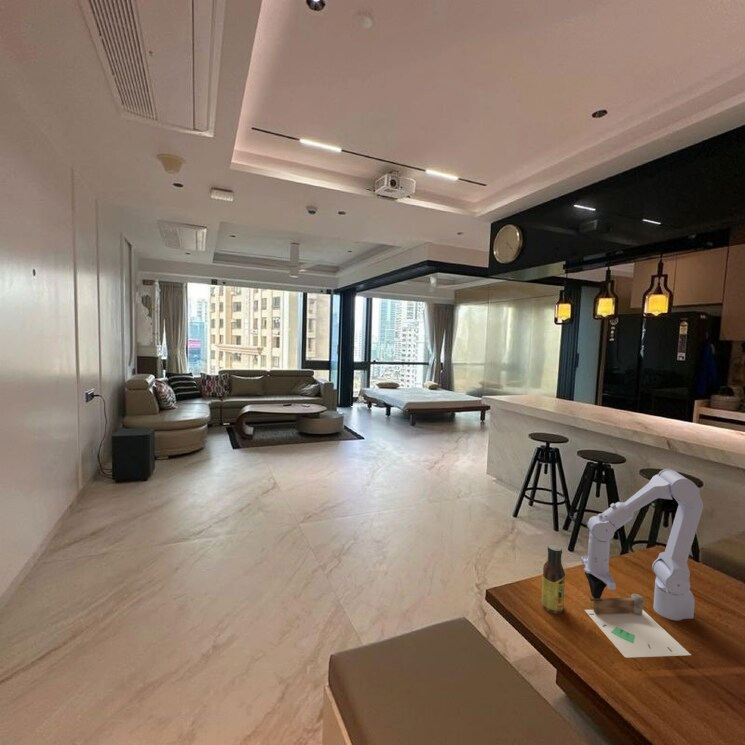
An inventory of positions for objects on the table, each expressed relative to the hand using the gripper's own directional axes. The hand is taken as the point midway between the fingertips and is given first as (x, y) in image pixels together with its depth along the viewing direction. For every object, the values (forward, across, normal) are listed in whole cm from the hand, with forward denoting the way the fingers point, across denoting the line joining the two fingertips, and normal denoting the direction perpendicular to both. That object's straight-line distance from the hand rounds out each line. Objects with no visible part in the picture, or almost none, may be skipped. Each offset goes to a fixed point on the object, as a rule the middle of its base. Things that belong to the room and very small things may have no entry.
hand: (596, 596), depth 123 cm
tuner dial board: (+2, +13, +3) cm, 13 cm away
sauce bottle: (+3, +2, -15) cm, 15 cm away
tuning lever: (+1, +6, +3) cm, 6 cm away
